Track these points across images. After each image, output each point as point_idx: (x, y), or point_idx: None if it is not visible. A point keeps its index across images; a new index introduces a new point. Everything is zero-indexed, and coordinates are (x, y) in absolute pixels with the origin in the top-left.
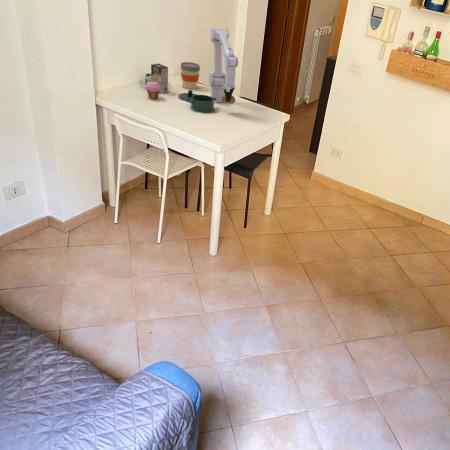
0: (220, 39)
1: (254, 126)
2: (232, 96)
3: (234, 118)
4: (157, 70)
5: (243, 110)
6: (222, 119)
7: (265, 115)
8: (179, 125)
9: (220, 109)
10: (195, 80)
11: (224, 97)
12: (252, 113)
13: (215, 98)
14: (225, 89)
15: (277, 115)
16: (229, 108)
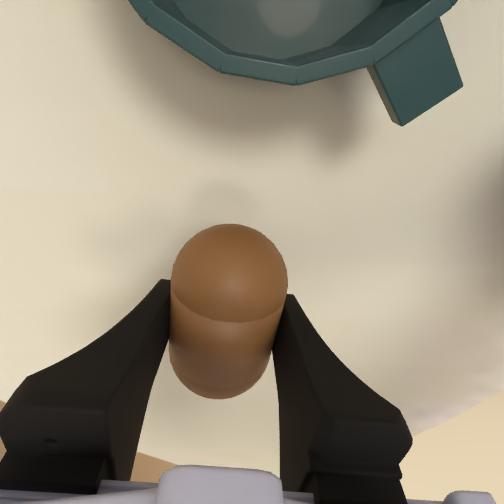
0: None
1: (16, 380)
2: (204, 392)
3: (102, 275)
4: None
5: (323, 337)
6: (9, 175)
7: (257, 433)
8: None
9: (307, 158)
10: None
11: (178, 284)
12: (272, 381)
13: (402, 112)
14: (89, 434)
15: (277, 472)
16: (354, 243)
